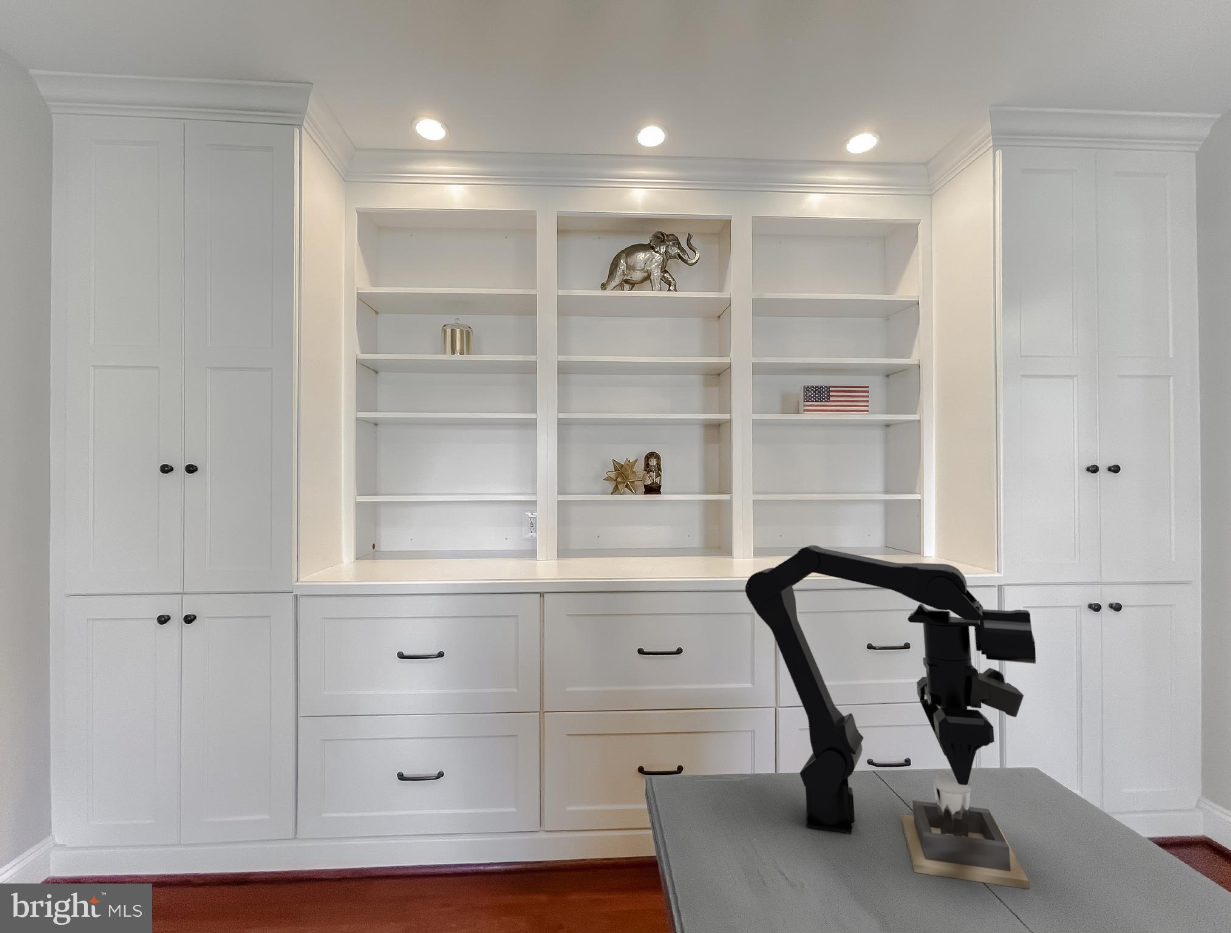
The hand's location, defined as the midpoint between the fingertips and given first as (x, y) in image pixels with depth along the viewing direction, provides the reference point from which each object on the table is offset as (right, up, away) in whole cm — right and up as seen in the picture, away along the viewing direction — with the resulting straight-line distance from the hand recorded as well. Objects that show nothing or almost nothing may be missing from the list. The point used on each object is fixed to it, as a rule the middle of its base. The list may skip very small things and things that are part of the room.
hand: (955, 769), depth 84 cm
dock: (0, -11, 0) cm, 11 cm away
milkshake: (0, -10, 0) cm, 10 cm away
